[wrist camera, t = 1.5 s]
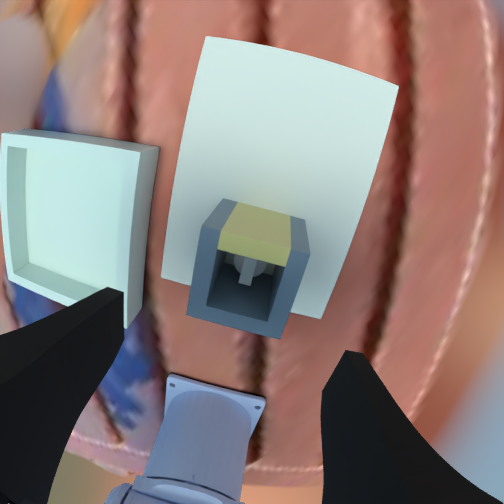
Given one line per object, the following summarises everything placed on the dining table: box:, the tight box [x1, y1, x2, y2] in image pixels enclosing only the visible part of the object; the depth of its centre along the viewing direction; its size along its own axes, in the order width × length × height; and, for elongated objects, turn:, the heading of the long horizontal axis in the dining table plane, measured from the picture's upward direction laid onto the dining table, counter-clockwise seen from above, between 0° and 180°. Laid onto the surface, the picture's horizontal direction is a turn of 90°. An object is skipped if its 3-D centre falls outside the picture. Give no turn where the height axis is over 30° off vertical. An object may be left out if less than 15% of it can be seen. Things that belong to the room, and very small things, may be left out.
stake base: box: [161, 36, 399, 319], centre depth 15 cm, size 14×10×4 cm
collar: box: [186, 198, 310, 339], centre depth 15 cm, size 4×4×4 cm
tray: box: [0, 129, 160, 329], centre depth 18 cm, size 11×11×3 cm
